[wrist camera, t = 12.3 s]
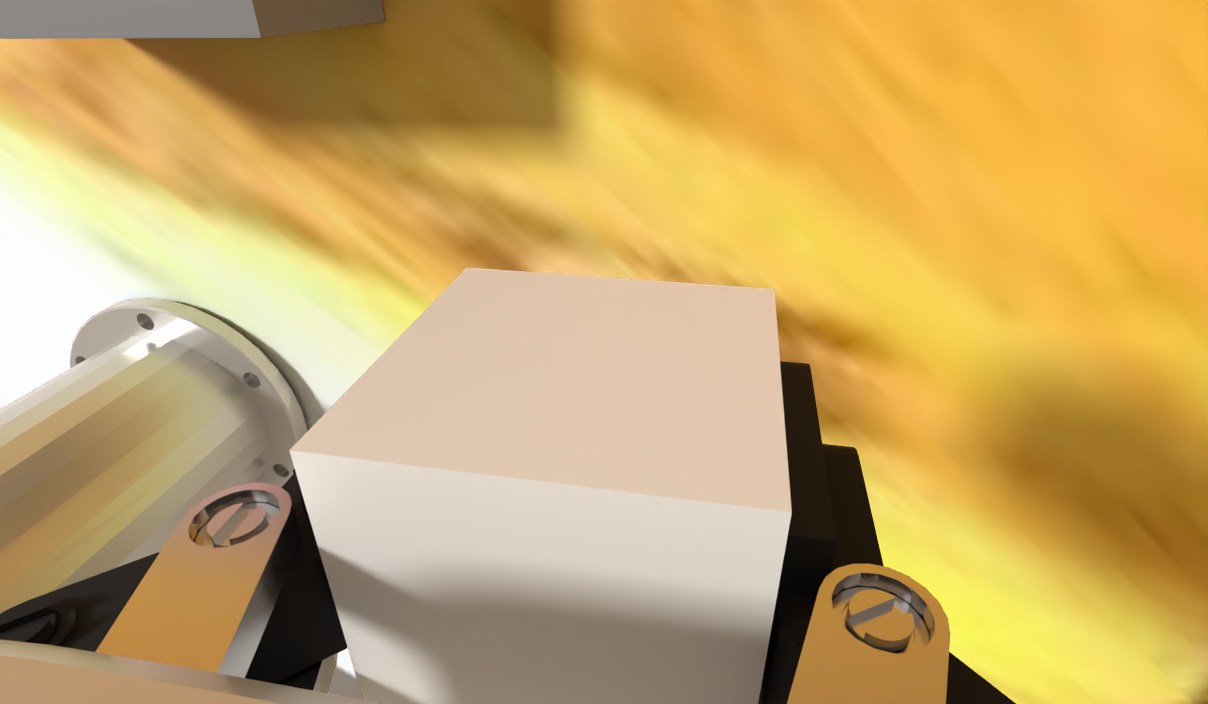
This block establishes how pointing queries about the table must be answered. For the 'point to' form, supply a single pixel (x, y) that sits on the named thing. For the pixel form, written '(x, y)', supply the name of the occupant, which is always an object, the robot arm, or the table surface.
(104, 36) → the box
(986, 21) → the table surface
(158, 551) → the robot arm
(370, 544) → the cap
